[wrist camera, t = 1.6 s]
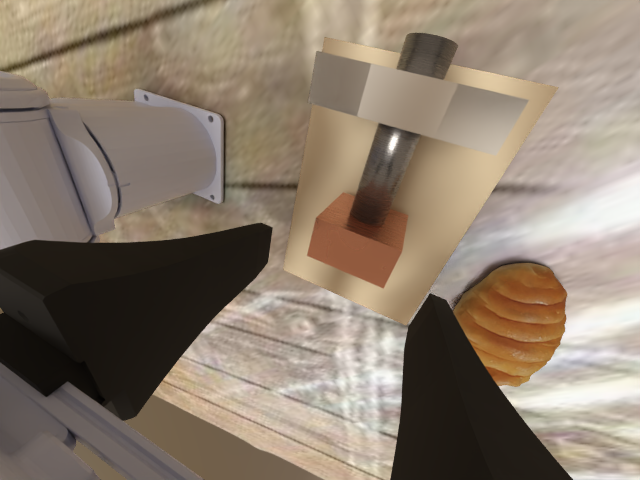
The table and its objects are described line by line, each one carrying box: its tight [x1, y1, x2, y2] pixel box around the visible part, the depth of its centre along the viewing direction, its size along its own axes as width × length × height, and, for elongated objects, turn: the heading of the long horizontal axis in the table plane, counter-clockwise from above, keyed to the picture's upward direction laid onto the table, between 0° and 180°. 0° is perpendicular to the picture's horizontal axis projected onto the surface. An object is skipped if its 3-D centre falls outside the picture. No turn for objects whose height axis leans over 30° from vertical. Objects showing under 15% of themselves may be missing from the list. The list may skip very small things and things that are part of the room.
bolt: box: [307, 33, 458, 289], centre depth 12 cm, size 4×10×5 cm, turn 167°
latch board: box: [283, 37, 559, 325], centre depth 15 cm, size 12×18×8 cm
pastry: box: [453, 263, 567, 387], centre depth 17 cm, size 9×7×4 cm
